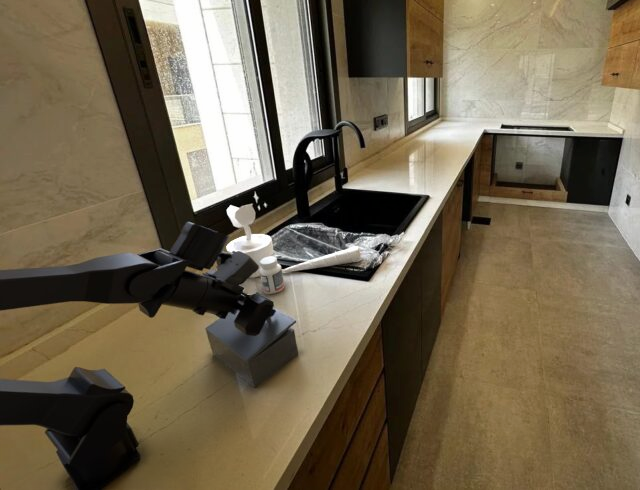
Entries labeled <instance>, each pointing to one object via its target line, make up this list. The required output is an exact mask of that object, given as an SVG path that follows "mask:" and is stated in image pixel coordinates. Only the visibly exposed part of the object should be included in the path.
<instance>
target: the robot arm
mask: <svg viewBox="0 0 640 490" xmlns="http://www.w3.org/2000/svg"><path fill="white" fill-rule="evenodd" d="M229 239H230V236H229V235H227V234H224V233H222V232H219V231H218V230H214V229H212V228H209V227H205V226H203V225H198V224H196V223H193V222H190V221H186V222H185V223H184V226H183V227H182V229H181V232H180V234H179V235H178V238H177V239H176V241H175V242H174V244H172V247H171V248H170V250H169V251H168V250H165V249H164V248H161V247H160V248H156V249H152V250H149V251H144V252H141V253H134V252H122V253H121V252H120V253H116V254H110V255H104V256H99V257H94V258H91V259H88V260H85V261H83V262H80V263H74V264H69V265H60V266H48V267H45V266H44V267H27V268H14V269H0V312H1V311H9V310H17V309H23V308H31V307H32V308H33V307H41V306H48V305H54V304H63V303H69V302H85V303H86V302H87V303H97V304H103V305H104V304H105V305H120V304H121V305H122V304H125V305H127V304H128V305H129V304H138V308H139V311H140V312H141V313H143V314H144V315H146V316H147V317H149V318H151V319H152V318H154V317H156V315H157V313H158V312H159V310H160V309H161V307H162V306H167V307H173V308H179V309H184V310H189V311H192V312H193V313H194V314H196V315H199V316H204V315H205V314H212V315H214V316H215V317H217V318H218V319H219V318H221V319H225V318H226V316H227V315H228V313H229V312H230V313H231V314H234V315H235V314H236V312H237V310H239V313H238V315H237V317H236V319H235V320H234V324H235V327H236V328H237V329H239V330H240V331H242V332H243V333H245V334H246V335H251V336H256V335H258V334H259V333H260V331H261V329H262V327H263V326H264V324H265V322H266V320H267V318H269V317H271V316H274V314H275V312H276V310H274V309H273V308H275V301H273V300H272V299H271V298H268V297H266V296H265V295H263V294H261V293H259V292H257V291H256V292H254V293H253V294H252V293H251V294H249V293H248V294H247V293H246V292H244V290H245V288H246V287H245V286H243V284H244V283H246V281H247V280H249V279H250V278H249V277H250V276H251V275H252V274H253V273H255V272H256V271H257V270H258V269H259V265H258V264H257V263H256V262H255V261H254V260H253V259H252V258H251V257H250V256H249V255H247V254H245V253H243V252H241V251H237V252H236V251H232V253H233V254H231V253H228V252H227V251H224V250H223V249H224V248H225V246H226V244H227V242H228V241H229ZM215 263H216V266H215V267H216V268H217V269H216V270H215V269H212V268H213V267H214V265H215ZM187 268H189V269H192V270H196V271H200V272H202V271H204V269H205V270H209V271H206V272H202V273H197V272H194V271H190V270H186V269H187ZM134 403H135V400H134V395H133V394H132V393H130V392H129V391H128V390H127V388H126V386H125V385H124V384H122V383H121V382H120V381H119V380H118V379H117V378H116V377H115V376H113V375H112V374H111V373H110V372H109V371H108V370H107V369H105V368H100V369H87V368H83V367H80V366H75V367H73V369H72V371H71V372H70V374H69V376H68V377H65V378H61V379H58V380H55V381H40V380H39V381H37V380H22V379H8V378H0V426H2V427H3V426H36V427H37V426H38V427H41V428H43V429H44V428H45V431H44V434H45V435H46V437H48V439H49V441H50V442H51V444H52V445H53V446H54V447H55V448H56V451H55V452H56V455H57V457H58V459H59V461H60V463H61V464H62V466H63V468H64V470H65V471H66V472H67V474H68V476H69V478H70V480H71V482H72V484H73V486H74V488H75V490H102V489H103V488H104V487H106V486H107V485H109V484H110V483H111V482H112V481H114V480H115V479H116V478H117V477H119V476H120V475H122V474H123V473H124V472H126V471H127V470H128V469H129V468H131V467H132V466H133V465H135V464H136V463H138V462H139V461H140V460H141V458H142V456H141V454H140V452H139V451H138V449H137V448H139V445H140V443H139V442H138V440H137V438H136V435H135V433H134V431H133V428H132V426H130V425H129V423H128V416H129V415H130V413H131V411H132V409H133V407H134Z"/></svg>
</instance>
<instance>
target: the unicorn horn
mask: <svg viewBox="0 0 640 490" xmlns="http://www.w3.org/2000/svg"><path fill="white" fill-rule="evenodd" d="M361 261H362V255H361V250H360V247H359V246H358V245H354V246H351V247H348V248H345V249H342V250H339V251H335V252H333V253H329V254H325V255H322V256H321V257H315V258H312V259H309V260H306V261H304V262H301V263H297V264H295V265H292V266H289V267H286V268H284V269H282V273H290V272H298V271H299V272H300V271H305V270H313V269H319V268H327V267H332V266H339V265H345V264H351V263H358V262H361Z"/></svg>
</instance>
